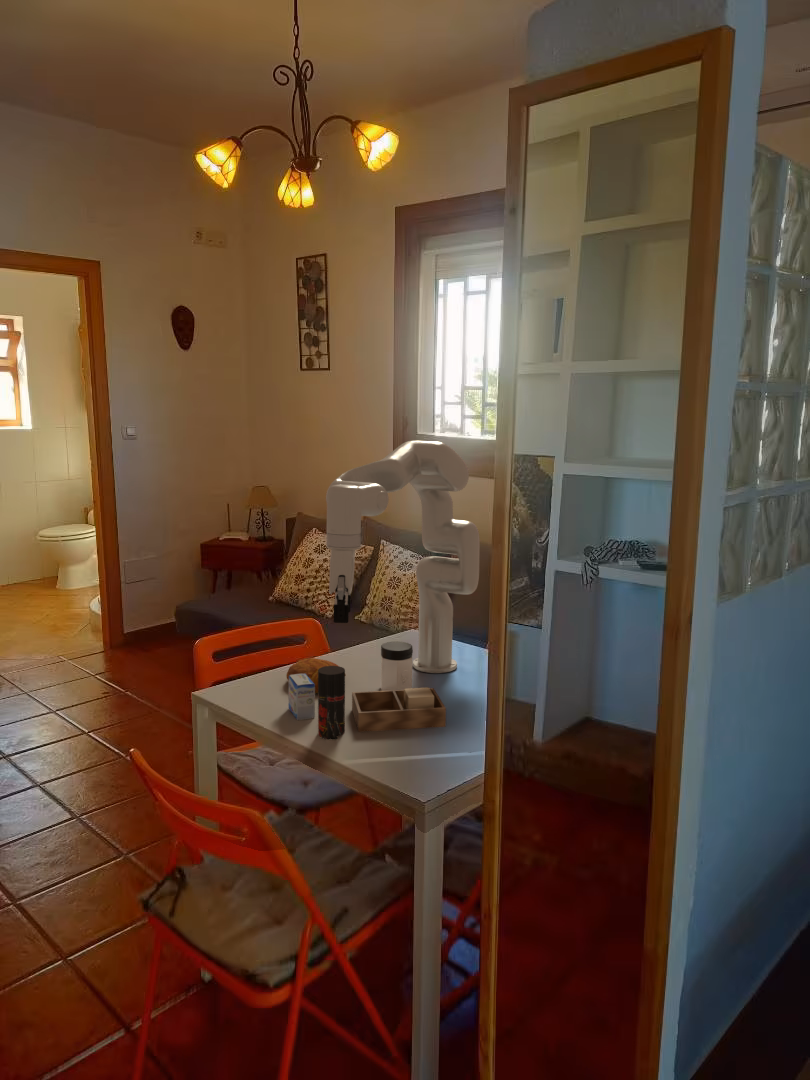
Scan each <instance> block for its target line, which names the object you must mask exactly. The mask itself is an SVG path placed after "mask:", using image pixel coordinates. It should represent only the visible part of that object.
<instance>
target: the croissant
mask: <svg viewBox="0 0 810 1080" xmlns="http://www.w3.org/2000/svg"><path fill="white" fill-rule="evenodd" d="M325 666H339V667H341V666H340V665H338V664H337V663H334V662H332V661H330V660H326V659H321V658H314V657H308V658H304V659H300V660H298V661H297V662H296V663H292V665H290V667H289V668H288V670H287V672H286V680H287V681H288V682H289V675H294V674H306V675H307V676H308V677H309V678H310V680H311V681H312V682H313V683H314V684H315V695H316V694H317V695H318V669H319V668H321V667H325ZM345 677H346V673H345Z"/></svg>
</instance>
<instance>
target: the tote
mask: <svg viewBox="0 0 810 1080" xmlns="http://www.w3.org/2000/svg"><path fill="white" fill-rule="evenodd" d="M429 689H430V690H431V692H432V694H433V695H434V708H423V709H405V710H404V690H388V691H381V690H375V691H374V690H371V691H353V692H351V710H352V715H353V717H354V721H355V724H356V727H357V731H358V733H361V732H362V733H363V732H365V733H366V732H378V731H379V732H380V731H395V730H396V731H397V730H411V729H413V730H415V729H430V728H445V727H446V724H447V723H446V721H447V720H446V719H447V718H446V716H447V715H446V714H447V708H446V705H445V704H444V703H443V701H442V699H441V698H440V696H439V695H438V693H437V691H436V690H435V688H434V687H433V688H432V687H429Z"/></svg>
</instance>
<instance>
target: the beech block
mask: <svg viewBox="0 0 810 1080" xmlns="http://www.w3.org/2000/svg"><path fill="white" fill-rule="evenodd" d="M429 688H430V687H429V686H428V687H412V688H407V689H404V710H405V709H423V708H434V695H433V694H432V692H431V690H430V689H429Z"/></svg>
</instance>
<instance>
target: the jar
mask: <svg viewBox="0 0 810 1080" xmlns="http://www.w3.org/2000/svg"><path fill="white" fill-rule="evenodd" d="M413 650H414V648H413V645H412V644H411V643H409V642H405V641H388V642H384V643H382V644H381V646H380V691H388V690H404V689H407V688H413V653H414V651H413Z"/></svg>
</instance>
